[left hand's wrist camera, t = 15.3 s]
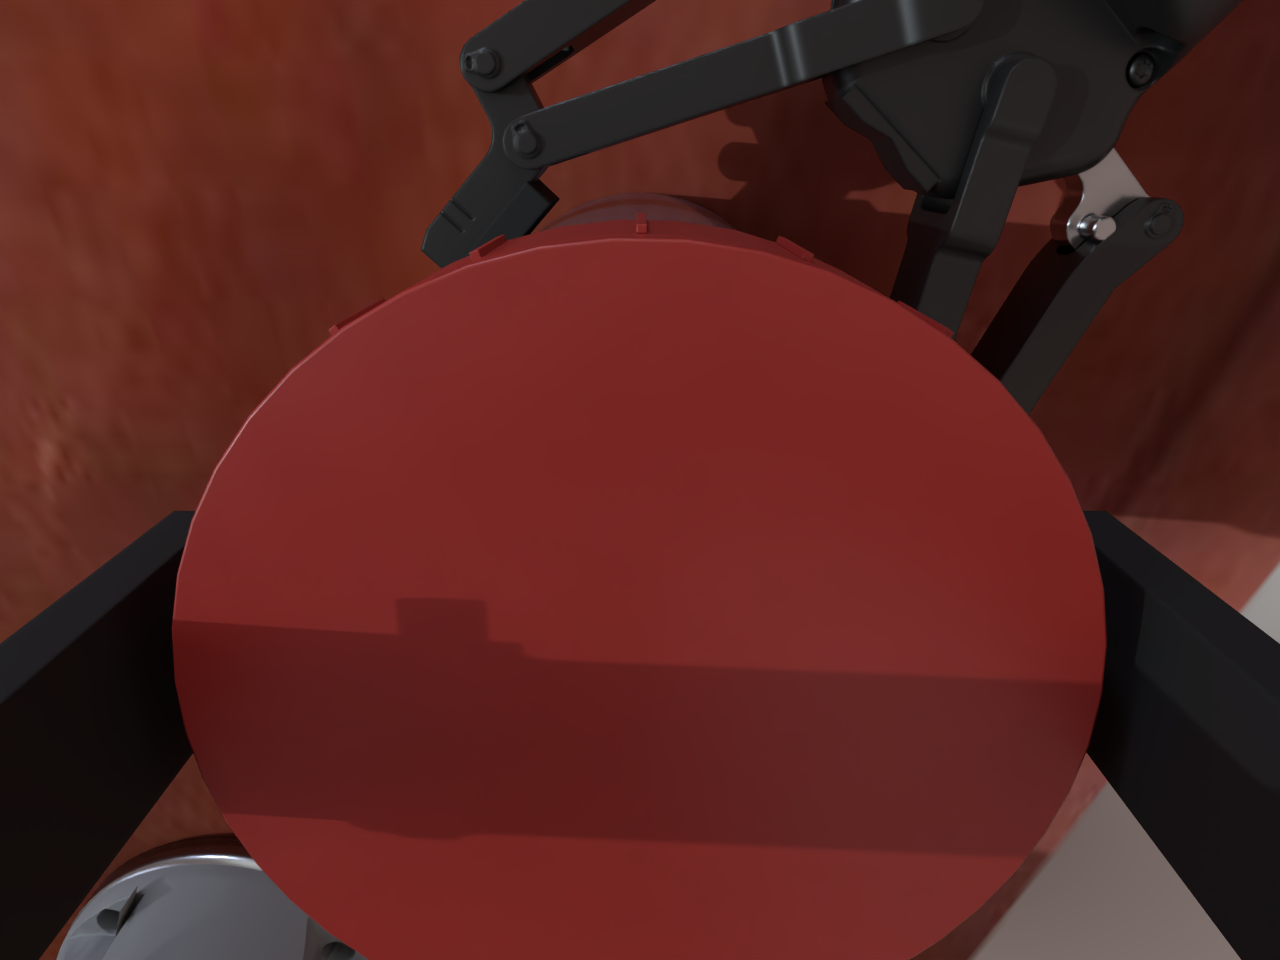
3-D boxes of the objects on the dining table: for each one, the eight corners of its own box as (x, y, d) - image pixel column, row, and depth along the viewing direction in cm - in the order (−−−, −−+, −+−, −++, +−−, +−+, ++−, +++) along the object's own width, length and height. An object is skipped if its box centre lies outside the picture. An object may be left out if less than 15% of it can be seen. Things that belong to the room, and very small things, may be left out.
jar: (498, 477, 31) (283, 964, 12) (489, 187, 27) (167, 256, 9) (772, 485, 31) (968, 980, 12) (799, 198, 27) (1136, 289, 9)
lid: (772, 975, 15) (797, 1124, 13) (165, 743, 13) (66, 867, 11) (1184, 457, 11) (1319, 532, 9) (432, 43, 10) (368, 7, 7)
